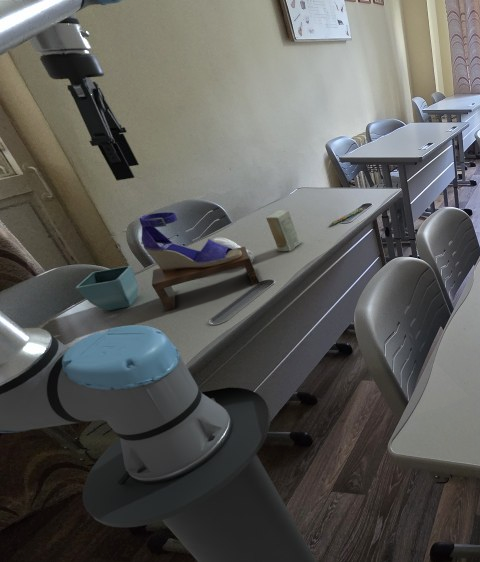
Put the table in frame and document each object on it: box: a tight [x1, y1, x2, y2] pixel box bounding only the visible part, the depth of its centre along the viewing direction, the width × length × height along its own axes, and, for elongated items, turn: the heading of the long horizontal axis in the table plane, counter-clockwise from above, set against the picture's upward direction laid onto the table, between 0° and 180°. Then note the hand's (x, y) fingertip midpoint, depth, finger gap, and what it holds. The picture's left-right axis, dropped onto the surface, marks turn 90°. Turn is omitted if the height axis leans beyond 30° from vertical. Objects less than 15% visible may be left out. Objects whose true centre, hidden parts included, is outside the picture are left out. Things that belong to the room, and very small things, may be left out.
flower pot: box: [75, 265, 139, 312], centre depth 105 cm, size 9×9×9 cm
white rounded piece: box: [211, 237, 255, 264], centre depth 124 cm, size 6×8×12 cm
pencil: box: [328, 207, 363, 227], centre depth 155 cm, size 1×1×18 cm
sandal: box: [139, 211, 242, 271], centre depth 105 cm, size 8×20×15 cm, turn 103°
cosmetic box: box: [265, 209, 301, 252], centre depth 131 cm, size 6×4×12 cm
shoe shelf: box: [151, 246, 260, 311], centre depth 111 cm, size 22×10×8 cm, turn 126°
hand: (128, 172), depth 82 cm, fingers open, 13 cm apart
